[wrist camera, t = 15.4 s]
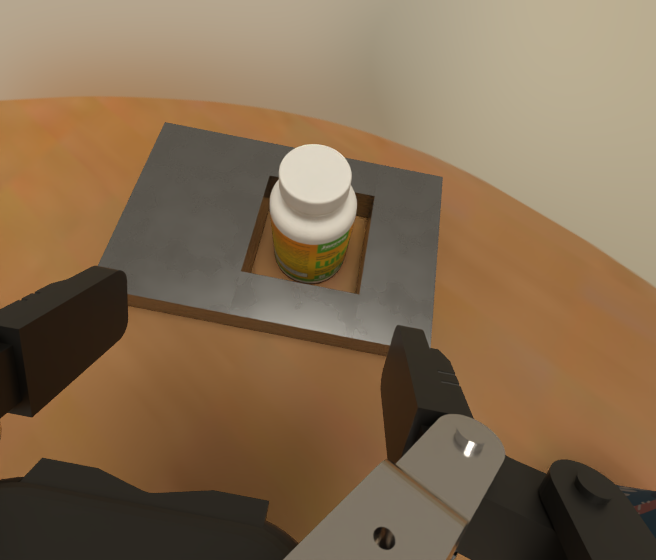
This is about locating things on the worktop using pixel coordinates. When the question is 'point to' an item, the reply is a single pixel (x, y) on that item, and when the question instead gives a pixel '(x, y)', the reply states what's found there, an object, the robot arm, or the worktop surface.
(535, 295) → the worktop surface
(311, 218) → the supplement bottle
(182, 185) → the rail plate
